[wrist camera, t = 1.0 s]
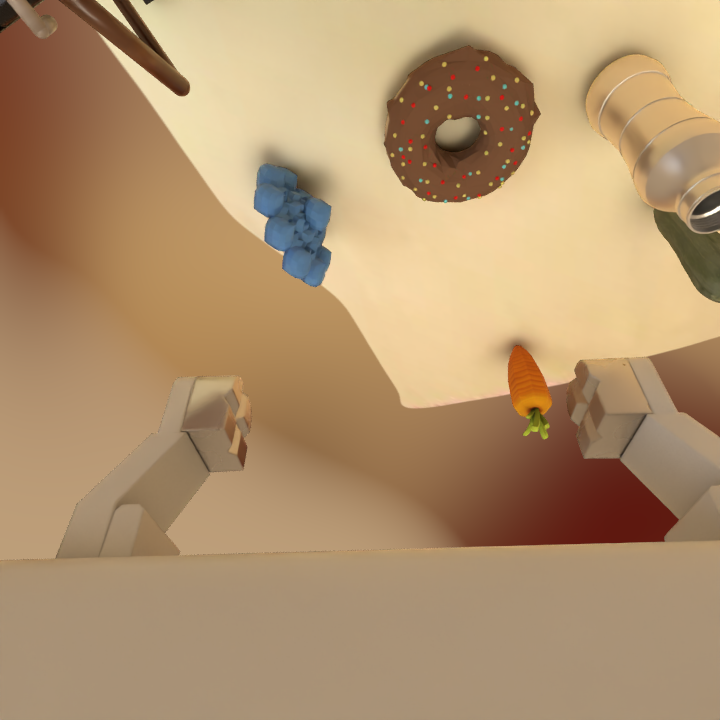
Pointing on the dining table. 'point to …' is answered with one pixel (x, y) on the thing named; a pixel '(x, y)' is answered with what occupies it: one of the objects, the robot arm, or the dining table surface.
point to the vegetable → (693, 252)
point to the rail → (4, 15)
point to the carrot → (528, 390)
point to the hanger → (113, 36)
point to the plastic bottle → (659, 139)
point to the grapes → (293, 223)
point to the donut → (453, 101)
